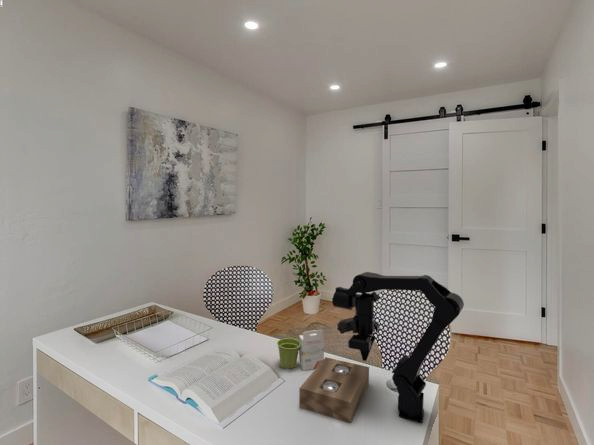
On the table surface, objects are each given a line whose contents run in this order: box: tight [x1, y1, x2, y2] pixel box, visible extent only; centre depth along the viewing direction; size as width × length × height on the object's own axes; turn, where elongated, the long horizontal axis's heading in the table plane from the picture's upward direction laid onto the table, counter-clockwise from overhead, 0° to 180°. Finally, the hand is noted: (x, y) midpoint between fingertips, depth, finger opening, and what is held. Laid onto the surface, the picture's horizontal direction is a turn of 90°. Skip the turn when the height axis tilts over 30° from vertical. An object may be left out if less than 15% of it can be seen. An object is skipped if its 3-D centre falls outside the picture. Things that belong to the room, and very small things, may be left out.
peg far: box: [335, 366, 349, 375], centre depth 107 cm, size 5×5×6 cm
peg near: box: [323, 381, 338, 392], centre depth 97 cm, size 5×5×6 cm
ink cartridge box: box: [298, 329, 325, 371], centre depth 121 cm, size 9×5×15 cm, turn 108°
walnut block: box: [298, 356, 370, 424], centre depth 102 cm, size 16×22×6 cm
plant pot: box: [276, 337, 301, 370], centre depth 121 cm, size 9×9×9 cm
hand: (364, 360), depth 102 cm, fingers closed
